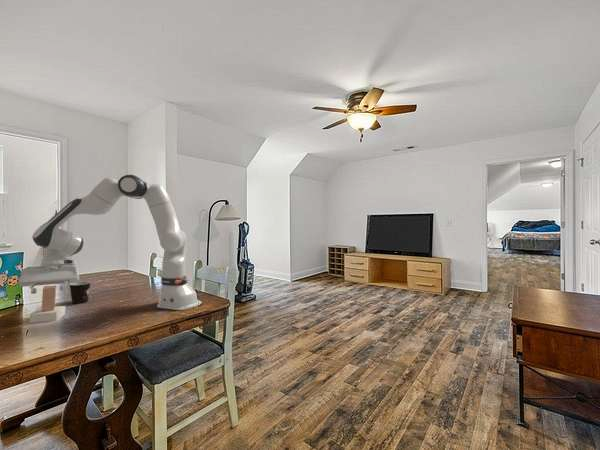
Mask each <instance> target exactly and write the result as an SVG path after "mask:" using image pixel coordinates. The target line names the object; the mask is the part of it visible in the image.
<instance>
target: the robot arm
mask: <svg viewBox="0 0 600 450" xmlns="http://www.w3.org/2000/svg"><path fill="white" fill-rule="evenodd" d="M121 197H128V198H130V199H134V200H135V199H136V200H141V199H143V200H145V202H146V204H147V207H148V209H149V212H150V214H151V218H152V220H153V222H154V225H155V228H156V233H157V237H158V240H159V245H160V247H161V248H162V249H163V250H164V252H163V257H162V261H161V262H162V264H161V266H162V267H161V268H162V269H161V270H162V271H161V272H162V273H161V278H160V279H161V280H160V284H161V286H160V290H159V295H158V303H157V304H156V308H160V309H167V310H175V311H186V310H191V309H193V307H194V308H196V307H199V306H201V305H202V304H203V302H202V301H201V300H199V299H198V296H197V292H196V291H195V290H194V289H193V288H192V286H190V285H189V283H188V281H189V280H190V279H189V277H187V276H186V256H187V244H188V237H187V234H186V233H185V232H184V231H183V230H181V227H180V223H179V220H178V215H177V212H176V211H175V207H174V205H173V203H172V200H171V198H170V195H169V194H168V192H167V191H166V189H165V187H164V186H163V185H161V184H159V183H155V184H154V183H153V184H148V183H147V182H146V181H145V180H144V179H143V178H141V177H139V176H137V175H134V174H126V175H125V174H124V175H123V176H121V177H120V178H119V179H116V178H114V177H105V178H104V179H102V180H101V181H100V182H98V184H97V185H95V187H93V189H92V190H91V191H90V193H88V194H87V195H86V196H83V197H82V198H75V199H73V200H71V201H70V202H68V204H66V205H65V206H63V208H62V209H59V211H58V212H57V213H56V214H55V215H53V216H52V217H51V218H50V219H49V220H48V221H46V222H45V223H44V224H42V225H40V226H39V227H38V228H37V229H36V230H35V231H34V232H33V234H32V237H31V239H32V240H33V242H34V244H35V245H36V246H39V247H42V248H44V249H43V252H42V253H43V256H42V259H41V261H40V264H39V265H40V266H27V267H26V268H23V269H21V271H20V277H19V279H18V284H19V285H20V287H23V288H24V287H29V289H30V294H31V295H34V294H37V291H38V290H37V288H36V287H35V286H50V285H59V284H60V285H61V284H63V285H61V286H59V291H60V292H65V289H66V288H67V287H69V286H70V284H71V283H74V282H80V272H79V268H78V263H77V261H76V260H74V259H69V258H68V257H72V256H74V255H76V254H78V253H80V252H81V250H83V247H84V239H83V237H82V236H81V235H78V234H76V233H73V232H70V231H68V230H64V229H62V228H60V227H61V226H63V224H65V223H66V222H67V221H68V220H69V219H70V218H71V217H73V216H75V215H93V216H98V215H99V216H100V215H104V214H107V213H108V212H110V211H111V210H112V209H113V207H114V206H115V205H116V203H117V202H118V201H119V199H120V198H121ZM201 303H202V304H201ZM200 304H201V305H200ZM198 305H199V306H198Z"/></svg>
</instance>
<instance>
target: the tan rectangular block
mask: <svg viewBox="0 0 600 450" xmlns="http://www.w3.org/2000/svg"><path fill="white" fill-rule="evenodd" d="M56 295H57V285H43V288H42V297H41V308H42V312H43V311H52V310H54V309H55V307H56V297H57V296H56Z"/></svg>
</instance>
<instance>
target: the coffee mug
mask: <svg viewBox="0 0 600 450" xmlns="http://www.w3.org/2000/svg"><path fill="white" fill-rule="evenodd" d="M90 289H91V281H89V280H88V281H87V280H86V281H85V280H84V281H83V280H81V281H77V282H74V283H69V291H70V296H71V304H73V305H82V304H86V303H88V302H89V295H90Z"/></svg>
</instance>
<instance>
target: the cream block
mask: <svg viewBox="0 0 600 450" xmlns="http://www.w3.org/2000/svg"><path fill="white" fill-rule="evenodd" d="M65 315H66V305H62V306H61V305H60V306H55V309H54V310H52V311H43V312H42V307H39V308H38V309H36V310H35V311H33V312H31V313H29V324H32V323H43V322H57V321H58V320H59V319H60V318H62V317H63V316H65Z"/></svg>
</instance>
